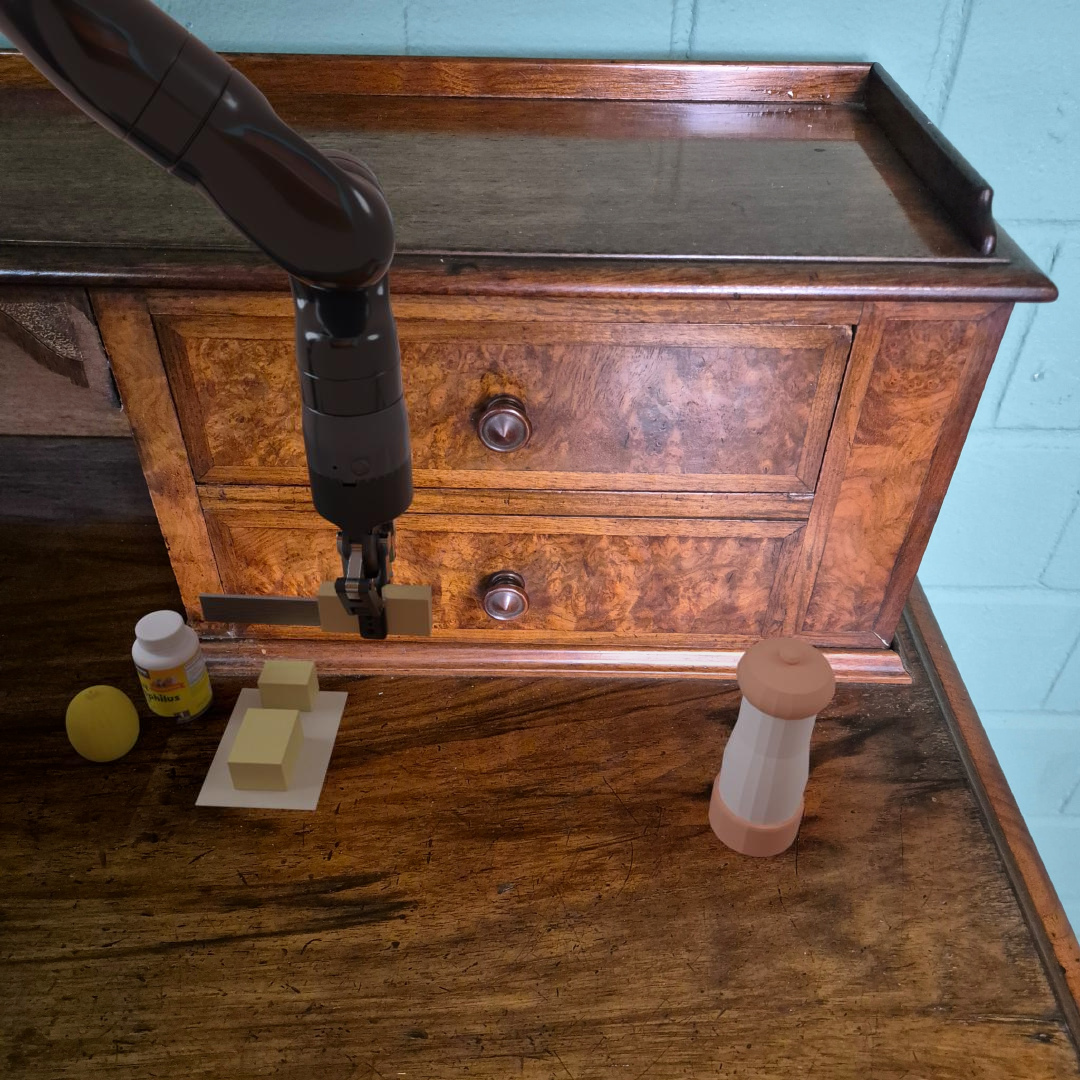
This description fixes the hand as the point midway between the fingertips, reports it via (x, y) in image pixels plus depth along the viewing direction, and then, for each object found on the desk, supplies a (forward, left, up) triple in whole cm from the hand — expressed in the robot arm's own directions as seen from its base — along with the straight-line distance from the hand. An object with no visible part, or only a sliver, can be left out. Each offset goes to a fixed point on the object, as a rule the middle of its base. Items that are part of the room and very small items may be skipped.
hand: (377, 626), depth 79 cm
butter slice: (-9, +2, -11) cm, 15 cm away
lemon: (-23, -5, -12) cm, 27 cm away
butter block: (-9, -5, -11) cm, 16 cm away
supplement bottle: (-19, +1, -12) cm, 23 cm away
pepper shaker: (+32, -9, -12) cm, 35 cm away
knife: (-5, 0, 0) cm, 5 cm away
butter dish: (-9, -3, -12) cm, 16 cm away
